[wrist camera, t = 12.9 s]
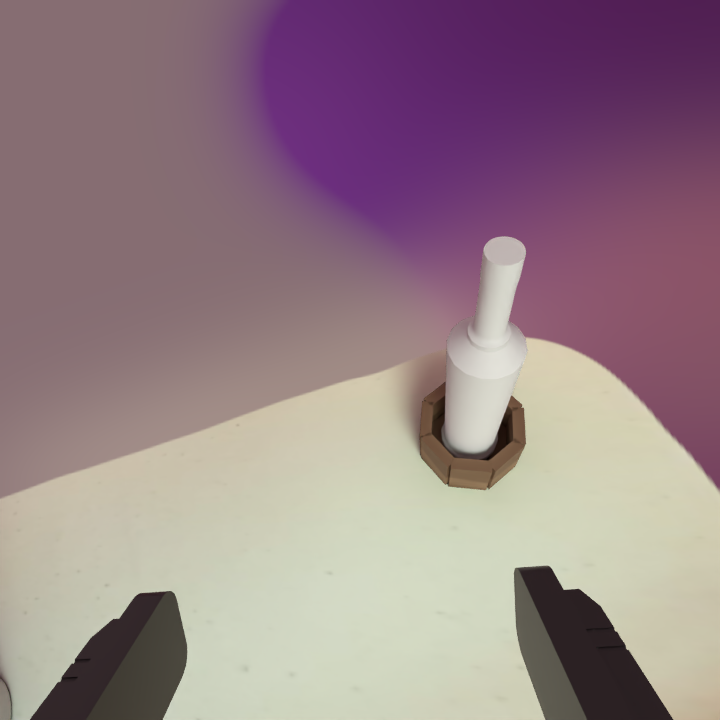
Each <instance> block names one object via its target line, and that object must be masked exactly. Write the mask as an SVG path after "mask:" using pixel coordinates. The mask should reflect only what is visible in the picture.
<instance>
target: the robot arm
mask: <svg viewBox="0 0 720 720" xmlns="http://www.w3.org/2000/svg"><path fill="white" fill-rule="evenodd" d="M514 587H515V612H516V629H517V636H518V641H519V646H520V650H521V653H522V656H523V659H524V662H525V665H526V668H527V670H528V673H529V676H530V678H531V681H532V684H533V687H534V689H535V692H536V695H537V698H538V700H539V703H540V706H541V708H542V711H543V714H544V717H545V719H546V720H673V719H672V717H671V715H670V714H669V712H668V711H667V709H666V708H665V706H664V705H663V703H662V701H661V700H660V698H659V697H658V695H657V694H656V692H655V691H654V689H653V687H652V686H651V684H650V683H649V681H648V680H647V678H646V676H645V675H644V673H643V672H642V670H641V669H640V667H639V666H638V664H637V662H636V661H635V659H634V658H633V656H632V655H631V653H630V652H629V650H627V649H626V645H625V644H624V642H623V641H622V639H621V638H620V636H619V634H618V633H617V632H615V630H614V627H613V625H612V624H611V622H610V620H609V619H608V617H607V616H606V614H605V613H604V611H603V609H602V608H601V606H600V605H598V604H597V603H596V602H595V601H593V600H592V599H591V598H590V597H588V596H587V595H586V594H585V593H584V592H582V591H581V590H580V589H572V590H563V588H562V586H561V584H560V583H559V581H558V579H557V577H556V576H555V574H554V572H553V570H552V569H551V567H549V566H536V567H522V568H515V571H514ZM186 661H187V643H186V639H185V634H184V630H183V625H182V621H181V617H180V612H179V608H178V603H177V599H176V596H175V594H174V593H173V592H171V591H166V592H152V593H140V594H138V595H137V596H135V598H134V599H133V600H132V602H131V603H130V604H129V606H128V607H127V609H126V610H125V611H124V613H123V614H122V616H121V617H120V619H113V620H112V621H110V622H109V623H108V624H107V625H106V626H105V627H103V628H102V629H101V630H100V631H99V632H98V633H96V634H95V635H94V636H93V637H92V638H91V639H90V640H89V641H88V643H87V644H86V645H85V647H84V648H83V649H82V651H81V652H80V653H79V655H78V656H77V657H76V659H75V663H74V664H71V665H70V667H69V668H68V669H67V671H66V672H65V674H64V675H63V676H62V679H61V682H58V683H57V684H56V686H55V687H54V688H53V690H52V691H51V692H50V694H49V695H48V696H47V698H46V699H45V700H44V702H43V703H42V704H41V706H40V707H39V708H38V710H37V711H36V712H35V714H34V715H33V716H32V718H31V719H30V720H163V717H164V715H165V713H166V711H167V709H168V707H169V704H170V702H171V700H172V698H173V696H174V694H175V691H176V689H177V687H178V685H179V683H180V681H181V678H182V676H183V673H184V670H185V666H186ZM0 720H11V701H10V695H9V692H8V690H7V687H6V685H5V683H4V682H3V681H2V680H1V678H0Z"/></svg>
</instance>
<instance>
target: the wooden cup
mask: <svg viewBox="0 0 720 720" xmlns="http://www.w3.org/2000/svg"><path fill="white" fill-rule="evenodd" d="M445 393H446V382H445V383H443V384H442V385H441V386H440V387H438V388H437V389H436V390H434V391H433V392H432V393H430V394H429V395H428V396H427V397H425V398H424V401H422V413H421V426H420V455H421V457H422V459H423V460H424V461H425V463H426V464H427V465H428V466H429V467H430V468H431V469H432V470H433V471H434V473H435V474H436V475H437V476H438V477H439V478H440V479H441V480H442V481H443V483H444V484H445V485H446V484H447V483H449V486H450V487H460V488H470V489H480V490H486V488H488V489H490V488H491V487H492V486H493V485H494V484H495V483H497V482H498V481H499V480H500V479H501V478H502V477H503V476H505V475H506V474H507V473H508V472H509V471H510V470H511V469H513V468H514V467H515V465H516V463H517V461H518V459H519V457H520V455H521V453H522V451H523V449H524V446H525V444H526V438H525V420H524V408H521V407H522V404H521V403H520V402H518V401H517V400H516V399H515V398H514V397H513V396H512V395H511V397H510V400H509V403H508V405H507V408H506V411H505V413H504V416H503V419H502V421H501V424H500V427H499V429H498V432H497V435H498V441H497V444H496V447H495V449H494V452H493V453H492V454H491V455H490V456H489V457H488V458H487V459H486V460H475V459H464V458H454V457H453V456H452V455H451V454H450V453H449V452H448V451H447V450H446V448H445V447H444V446H443V444H442V433H441V429H442V426H443V424H444V422H445Z"/></svg>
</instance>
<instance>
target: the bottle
mask: <svg viewBox="0 0 720 720" xmlns="http://www.w3.org/2000/svg"><path fill="white" fill-rule="evenodd" d="M525 254H526V251H525V246H524V245H523V244H522V243H521V242H520V241H518V240H516V239H515V238H511V237H497V238H494V239H491V240H490V241H489V242H488V243H487V244H486V245H485V247H484V251H483V259H482V265H481V272H480V277H481V280H480V286H479V293H478V301H477V307H476V314H475V316H472V317H469V318H466V319H463V320H462V321H460V322H459V323H458V324H457V325H456V326H455V327H453V328H452V330H451V332H450V334H449V336H448V339H447V354H446V393H445V422H444V424H443V426H442V429H441V433H442V444H443V446H444V447H445V448H446V450H447V451H448V452H449V453H450V454H451V455H452V456H453V457H454V458H464V459H475V460H486V459H487V458H488V457H489V456H490V455H491V454H492V453H493V452H494V449H495V447H496V444H497V441H498V435H497V432H498V429H499V427H500V424H501V421H502V419H503V416H504V413H505V411H506V408H507V405H508V403H509V400H510V397H511V395H512V392H513V389H514V387H515V384H516V381H517V379H518V376H519V373H520V371H521V368H522V365H523V363H524V360H525V357H526V354H527V345H526V338H525V337H524V336H523V334H522V333H521V331H520V330H519V328H518V327H517V326H515V325H514V324H512V323H511V322H509V321H508V320H509V316H510V312H511V308H512V303H513V299H514V295H515V291H516V287H517V284H518V281H519V279H520V275H521V271H522V267H523V262H524V259H525Z"/></svg>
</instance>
